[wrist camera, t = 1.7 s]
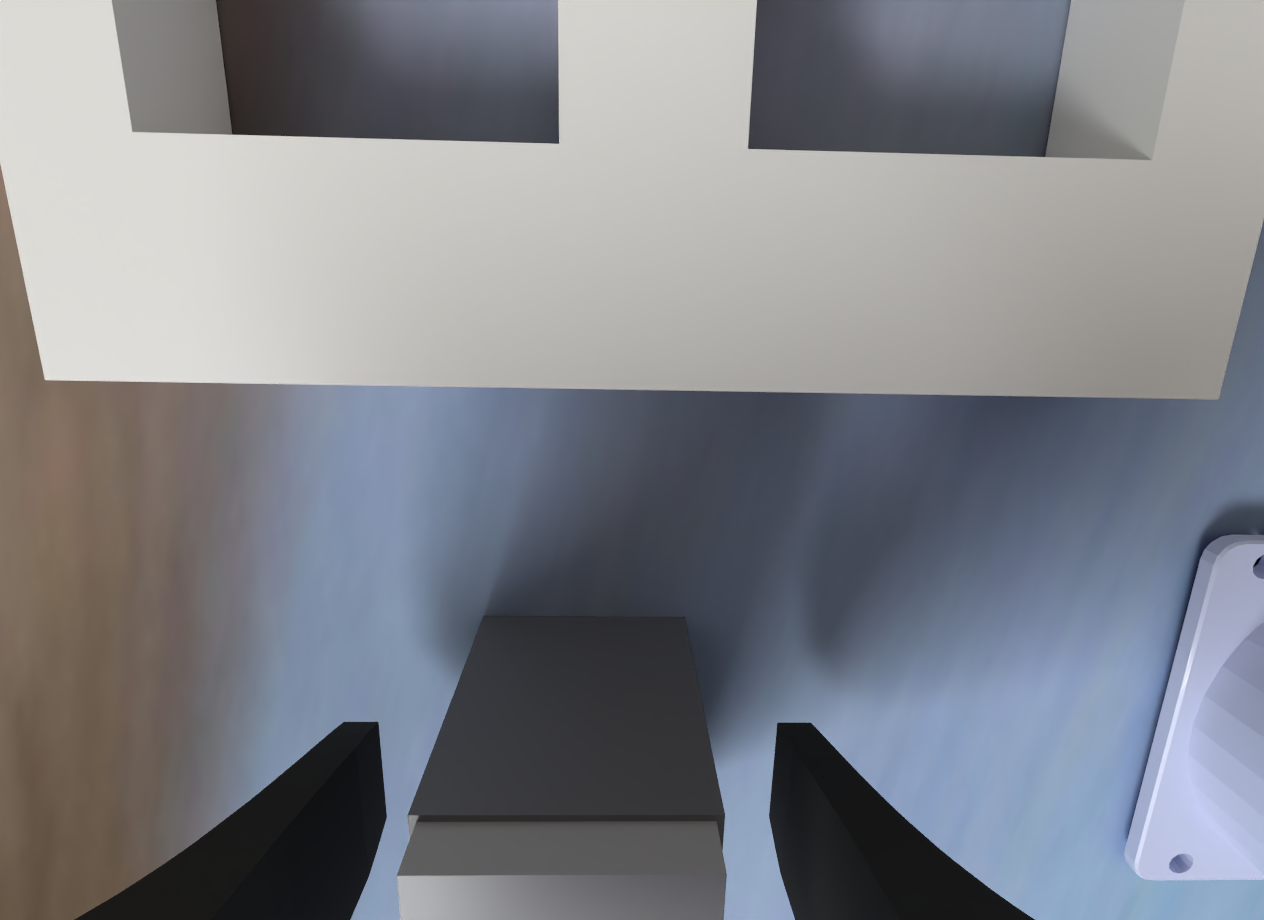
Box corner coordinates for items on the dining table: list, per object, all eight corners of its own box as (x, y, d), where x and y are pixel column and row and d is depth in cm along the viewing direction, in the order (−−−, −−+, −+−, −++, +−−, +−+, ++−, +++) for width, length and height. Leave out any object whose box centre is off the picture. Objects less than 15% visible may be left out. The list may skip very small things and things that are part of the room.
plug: (684, 616, 14) (735, 866, 8) (676, 784, 15) (717, 1113, 9) (484, 615, 14) (388, 869, 8) (490, 784, 15) (409, 1118, 9)
